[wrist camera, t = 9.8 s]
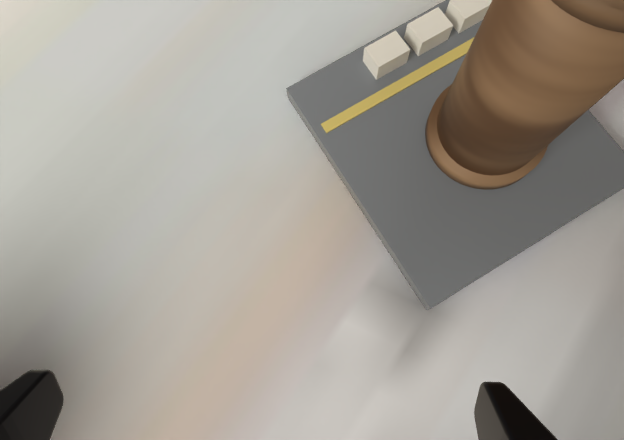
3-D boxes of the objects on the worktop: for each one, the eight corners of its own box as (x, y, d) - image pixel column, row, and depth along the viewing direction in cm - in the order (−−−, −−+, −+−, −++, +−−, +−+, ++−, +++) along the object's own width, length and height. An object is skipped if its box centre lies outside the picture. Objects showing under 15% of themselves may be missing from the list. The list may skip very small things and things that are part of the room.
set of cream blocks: (487, 17, 25) (495, 1, 24) (376, 79, 25) (378, 67, 24) (473, -1, 26) (480, -17, 25) (362, 61, 25) (364, 47, 24)
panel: (631, 181, 24) (645, 174, 23) (426, 309, 23) (430, 308, 22) (474, -6, 27) (479, -20, 26) (287, 97, 26) (286, 87, 25)
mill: (551, 183, 23) (798, 15, 11) (434, 194, 23) (547, 40, 11) (528, 79, 24) (720, -171, 12) (417, 90, 25) (500, -148, 12)
